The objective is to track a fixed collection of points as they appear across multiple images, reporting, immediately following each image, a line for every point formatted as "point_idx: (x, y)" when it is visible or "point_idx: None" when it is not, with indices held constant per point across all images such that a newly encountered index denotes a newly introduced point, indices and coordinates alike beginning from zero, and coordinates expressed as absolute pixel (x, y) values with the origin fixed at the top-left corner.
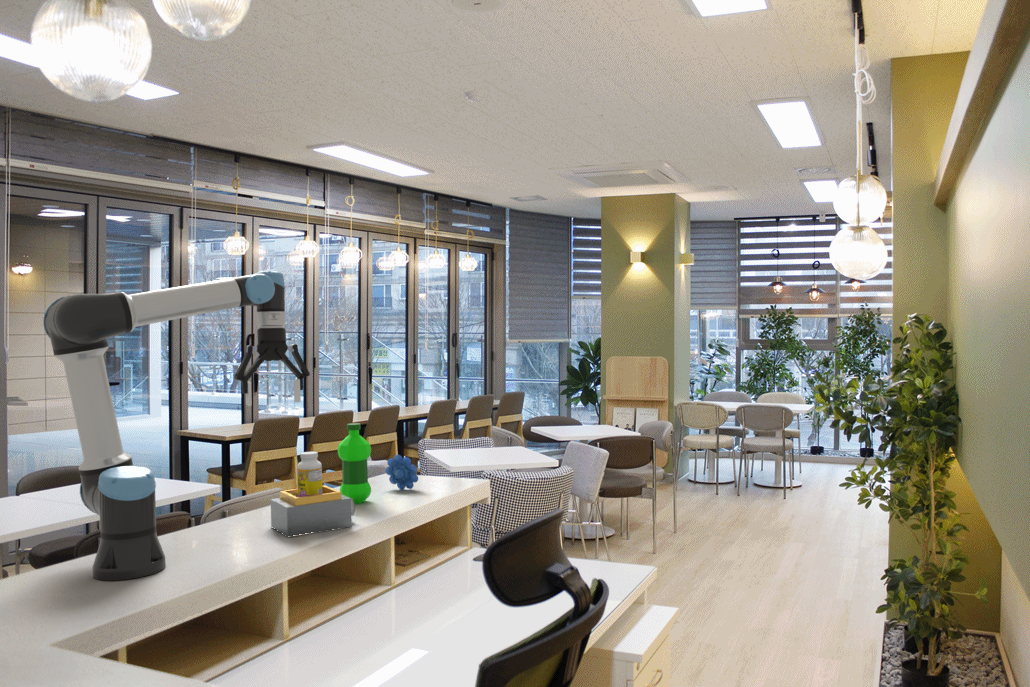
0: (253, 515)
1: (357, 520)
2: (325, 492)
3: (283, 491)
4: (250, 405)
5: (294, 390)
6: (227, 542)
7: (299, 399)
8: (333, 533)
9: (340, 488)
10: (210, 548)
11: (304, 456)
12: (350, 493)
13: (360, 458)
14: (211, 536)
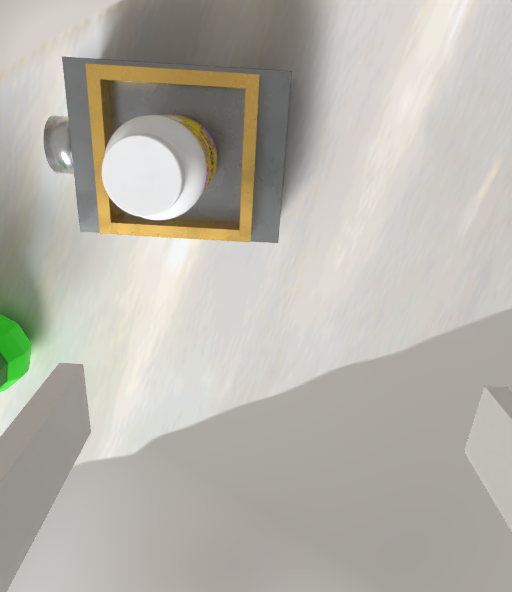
0: (259, 370)
1: None
2: None
3: (243, 227)
4: (495, 388)
5: (47, 511)
6: (420, 149)
7: (57, 377)
8: (167, 27)
9: (21, 371)
10: (478, 117)
11: (175, 152)
12: (8, 325)
13: None
14: (419, 239)
